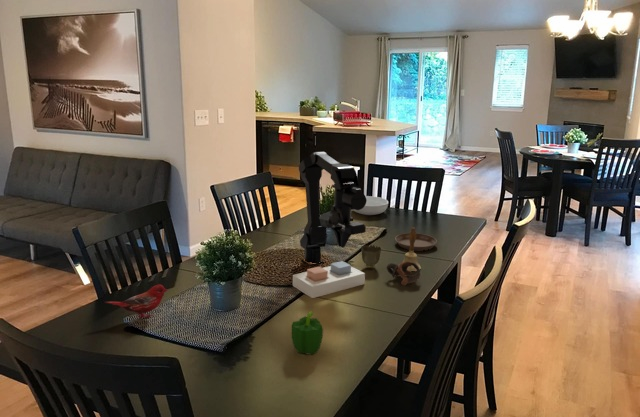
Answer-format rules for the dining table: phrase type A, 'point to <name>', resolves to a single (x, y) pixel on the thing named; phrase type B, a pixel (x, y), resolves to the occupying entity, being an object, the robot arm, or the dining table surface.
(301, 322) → the bell pepper
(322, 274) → the terracotta key
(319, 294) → the key panel
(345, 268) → the blue key
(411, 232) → the hand bell
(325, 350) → the dining table surface
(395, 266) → the pottery mug
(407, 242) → the plant saucer
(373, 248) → the cup
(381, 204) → the serving bowl
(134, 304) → the decorative bird figurine
